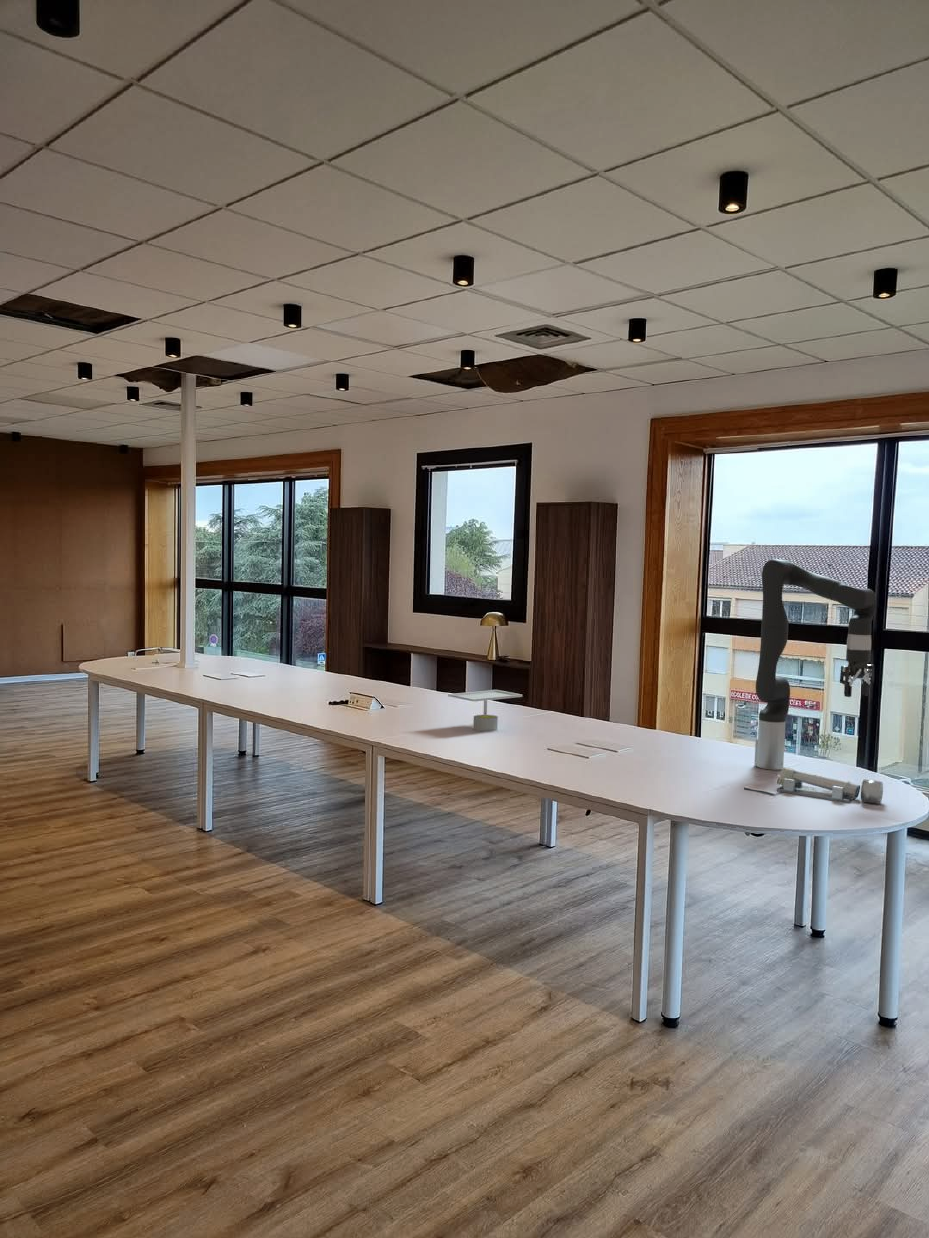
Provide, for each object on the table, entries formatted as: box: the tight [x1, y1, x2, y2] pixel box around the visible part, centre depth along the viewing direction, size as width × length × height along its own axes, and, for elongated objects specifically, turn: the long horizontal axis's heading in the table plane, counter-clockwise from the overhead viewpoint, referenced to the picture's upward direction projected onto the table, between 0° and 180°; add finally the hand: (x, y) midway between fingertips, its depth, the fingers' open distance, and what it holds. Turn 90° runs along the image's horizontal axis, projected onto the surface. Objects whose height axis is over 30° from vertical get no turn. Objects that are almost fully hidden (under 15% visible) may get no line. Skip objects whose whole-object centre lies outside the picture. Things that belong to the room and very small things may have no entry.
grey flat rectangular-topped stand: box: [447, 689, 523, 732], centre depth 395 cm, size 28×17×15 cm, turn 129°
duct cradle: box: [776, 778, 884, 805], centre depth 293 cm, size 30×10×7 cm, turn 54°
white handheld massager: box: [776, 766, 861, 798], centre depth 296 cm, size 5×7×25 cm
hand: (856, 696), depth 308 cm, fingers open, 8 cm apart
